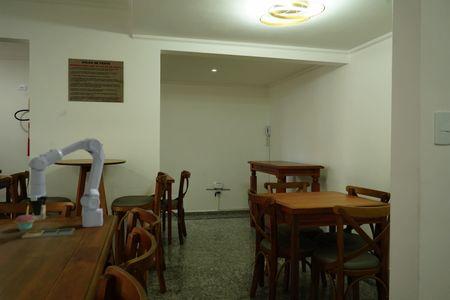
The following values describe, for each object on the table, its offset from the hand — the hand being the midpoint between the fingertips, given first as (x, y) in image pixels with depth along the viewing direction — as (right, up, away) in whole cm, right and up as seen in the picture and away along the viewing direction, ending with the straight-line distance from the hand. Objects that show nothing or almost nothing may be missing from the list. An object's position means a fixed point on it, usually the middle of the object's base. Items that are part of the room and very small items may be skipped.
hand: (38, 214), depth 144 cm
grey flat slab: (+4, -10, +1) cm, 11 cm away
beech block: (0, -2, 0) cm, 2 cm away
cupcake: (-13, -10, +12) cm, 21 cm away
